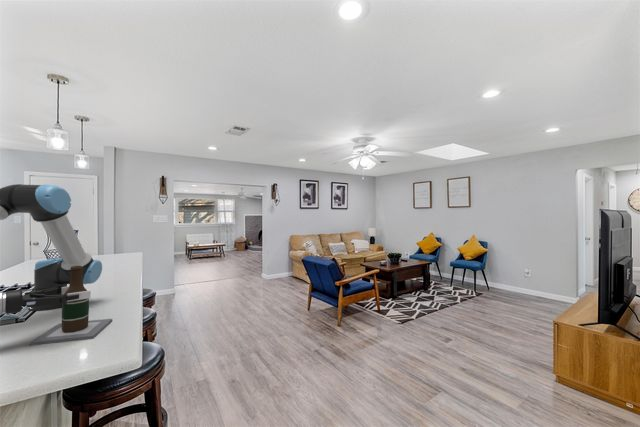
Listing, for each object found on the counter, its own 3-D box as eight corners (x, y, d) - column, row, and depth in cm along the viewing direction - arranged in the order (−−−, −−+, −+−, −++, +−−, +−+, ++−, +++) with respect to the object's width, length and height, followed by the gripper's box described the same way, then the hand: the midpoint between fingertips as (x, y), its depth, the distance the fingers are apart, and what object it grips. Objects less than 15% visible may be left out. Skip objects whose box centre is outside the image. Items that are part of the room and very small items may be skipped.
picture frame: (59, 325, 111) (59, 323, 111) (112, 320, 117) (112, 318, 117) (29, 345, 94) (29, 342, 94) (93, 338, 100) (93, 335, 100)
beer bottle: (72, 334, 101) (74, 268, 101) (55, 332, 103) (57, 267, 103) (93, 326, 109) (95, 265, 109) (77, 324, 110) (79, 264, 111)
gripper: (4, 306, 100) (80, 294, 116) (4, 323, 84) (93, 307, 100) (4, 285, 100) (81, 276, 116) (5, 299, 84) (93, 286, 100)
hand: (86, 290), depth 108 cm, fingers open, 13 cm apart
